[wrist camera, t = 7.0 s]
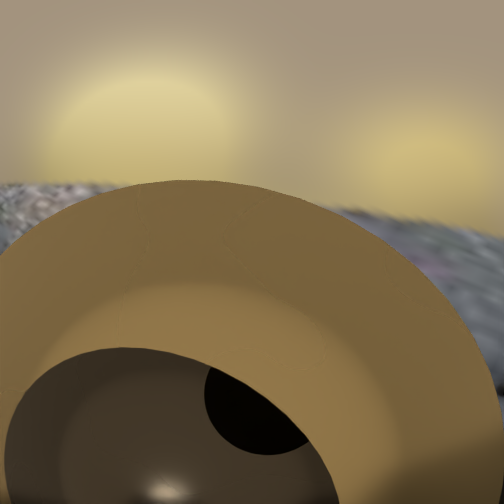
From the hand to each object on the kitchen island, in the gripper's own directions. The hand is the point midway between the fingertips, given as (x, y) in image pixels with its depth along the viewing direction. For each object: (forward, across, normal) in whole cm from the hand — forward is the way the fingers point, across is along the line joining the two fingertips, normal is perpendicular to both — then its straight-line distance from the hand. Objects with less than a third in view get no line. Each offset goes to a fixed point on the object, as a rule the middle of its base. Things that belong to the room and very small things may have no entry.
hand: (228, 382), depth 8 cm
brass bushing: (+4, 0, +6) cm, 7 cm away
